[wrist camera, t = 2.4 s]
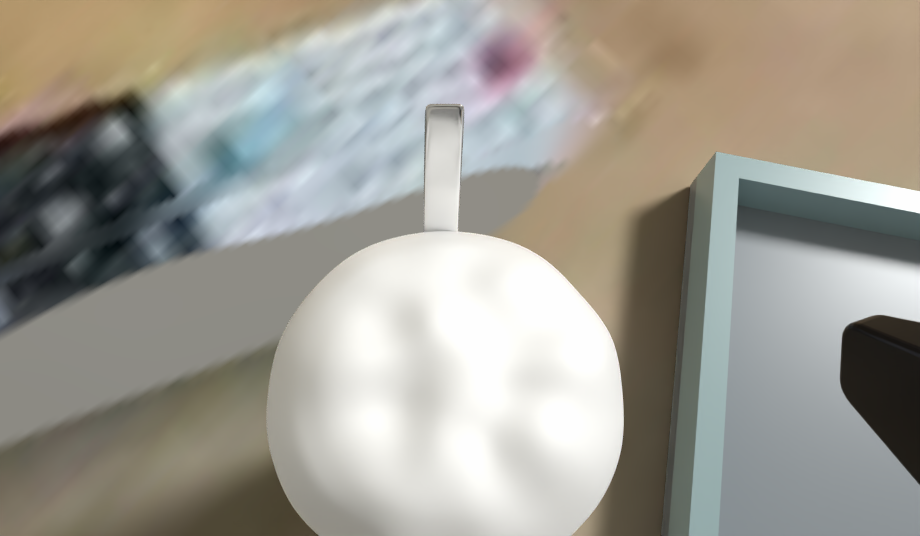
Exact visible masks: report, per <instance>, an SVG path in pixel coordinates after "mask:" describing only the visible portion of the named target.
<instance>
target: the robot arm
mask: <svg viewBox="0 0 920 536" xmlns="http://www.w3.org/2000/svg"><path fill="white" fill-rule="evenodd" d="M840 385H841V388H842V391H843V393H844V395H845V397H846V399H847V400H848V401H849V403H850V404H851V405H852V406H853V407H854V409H855V410H856V411H857V412H858V413H859V414H860V416H861V417H862V418H863V419H864V420H865V422H866V423H867V424H868V425H869V426H870V427H871V429H872V430H873V431H874V432H875V433H876V434H877V436H878V437H879V438H880V439H881V440H882V442H883V443H884V444H885V445H886V446H887V447H888V449H889V450H890V451H891V452H892V453H893V454H894V456H895V457H896V458H897V459H898V460H899V461H900V463H901V464H902V465H903V466H904V467H905V469H906V470H907V471H908V472H909V473H910V474H911V476H912V477H913V478H914V479H915V480H916V481H917V483H918V484H919V485H920V322H917V321H911V320H906V319H901V318H896V317H891V316H886V315H873V316H870V317H867V318H864V319H861V320H858V321H855V322H852V323H850V324H849V325H847V326H846V327H845V329H844V331H843V333H842V343H841V362H840Z"/></svg>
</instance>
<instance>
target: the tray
mask: <svg viewBox="0 0 920 536" xmlns="http://www.w3.org/2000/svg"><path fill="white" fill-rule="evenodd" d="M873 315H886V316H891V317H896V318H901V319H906V320H911V321H917V322H920V191H914V190H909V189H904V188H899V187H894V186H889V185H884V184H879V183H873V182H868V181H863V180H858V179H853V178H848V177H843V176H838V175H832V174H827V173H822V172H817V171H812V170H807V169H802V168H797V167H792V166H786V165H781V164H776V163H771V162H766V161H761V160H756V159H751V158H745V157H740V156H735V155H730V154H725V153H720V152H716V153H715V154H714V155H713V157H712V158H711V159H710V160H709V162H708V163H707V164H706V166H705V167H704V168H703V169H702V171H701V172H700V173H699V175H698V176H697V177H696V179H695V180H694V181H693V182H692V184H691V185H690V197H689V208H688V220H687V232H686V244H685V256H684V268H683V280H682V292H681V304H680V316H679V328H678V340H677V352H676V364H675V376H674V388H673V400H672V411H671V423H670V435H669V447H668V459H667V471H666V483H665V495H664V507H663V519H662V531H661V536H920V485H919V484H918V483H917V481H916V480H915V479H914V478H913V477H912V476H911V474H910V473H909V472H908V471H907V470H906V469H905V467H904V466H903V465H902V464H901V463H900V461H899V460H898V459H897V458H896V457H895V456H894V454H893V453H892V452H891V451H890V450H889V449H888V447H887V446H886V445H885V444H884V443H883V442H882V440H881V439H880V438H879V437H878V436H877V434H876V433H875V432H874V431H873V430H872V429H871V427H870V426H869V425H868V424H867V423H866V422H865V420H864V419H863V418H862V417H861V416H860V414H859V413H858V412H857V411H856V410H855V409H854V407H853V406H852V405H851V404H850V403H849V401H848V400H847V399H846V397H845V395H844V393H843V391H842V388H841V385H840V362H841V343H842V333H843V331H844V329H845V327H846V326H847V325H849V324H850V323H852V322H855V321H858V320H861V319H864V318H867V317H870V316H873Z"/></svg>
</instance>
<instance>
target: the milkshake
mask: <svg viewBox="0 0 920 536" xmlns="http://www.w3.org/2000/svg"><path fill="white" fill-rule="evenodd" d="M463 129H464V107H463V106H462V105H460V104H430V105H428V106H427V107H426V110H425V152H424V232H423V233H416V234H410V235H405V236H400V237H396V238H392V239H388V240H385V241H382V242H379V243H376V244H373V245H371V246H369V247H367V248H365V249H362V250H360V251H359V252H357V253H355V254H353V255H352V256H350V257H349V258H347V259H346V260H344V261H343V262H342V263H340V264H339V265H338V266H337V267H335V268H334V269H333V270H332V271H331V272H330V273H328V275H326V276H325V278H323V279H322V280H321V281H320V282H319V283H318V284H317V285H316V287H315V288H314V289H313V290H312V291H311V292H310V293H309V295H308V296H307V297H306V298H305V299H304V300H303V302H302V303H301V304H300V306H299V307H298V309H297V310H296V312H295V313H294V315H293V316H292V318H291V319H290V321H289V323H288V325H287V326H286V328H285V330H284V332H283V334H282V337H281V339H280V341H279V344H278V347H277V350H276V353H275V357H274V361H273V365H272V371H271V376H270V383H269V390H268V399H267V436H268V443H269V448H270V453H271V457H272V461H273V464H274V467H275V470H276V473H277V476H278V478H279V481H280V483H281V486H282V488H283V490H284V492H285V494H286V496H287V498H288V500H289V501H290V503H291V505H292V506H293V508H294V509H295V511H296V512H297V513H298V514H299V516H300V517H301V518H302V519H303V520H304V522H305V523H306V524H307V525H308V526H309V527H310V528H311V529H312V530H313V531H314V532H315V533H316V534H318V535H319V536H571V535H572V534H573V533H574V532H575V531H576V530H577V529H578V528H579V527H580V526H581V525H582V524H583V523H584V522H585V521H586V520H587V518H588V517H589V516H590V515H591V514H592V512H593V511H594V510H595V508H596V507H597V505H598V504H599V502H600V501H601V499H602V498H603V496H604V494H605V492H606V490H607V488H608V487H609V484H610V482H611V480H612V478H613V475H614V473H615V470H616V467H617V464H618V460H619V456H620V452H621V447H622V440H623V429H624V409H623V394H622V383H621V374H620V367H619V362H618V357H617V353H616V349H615V346H614V343H613V340H612V338H611V336H610V334H609V332H608V330H607V328H606V326H605V325H604V323H603V322H602V320H601V319H600V317H599V316H598V315H597V313H596V312H595V311H594V310H593V308H592V307H591V306H590V305H589V304H588V303H587V301H586V300H585V299H584V298H583V297H582V296H581V295H580V294H579V293H578V291H577V290H576V289H575V288H574V287H573V286H572V285H571V284H570V283H569V281H568V280H567V279H566V278H565V277H564V276H563V275H562V274H561V273H560V272H559V271H558V270H557V269H556V268H554V267H553V266H552V265H551V264H550V263H548V262H547V261H546V260H545V259H543V258H542V257H540V256H539V255H537V254H536V253H534V252H532V251H530V250H528V249H526V248H524V247H522V246H520V245H517V244H515V243H512V242H509V241H506V240H503V239H500V238H496V237H491V236H487V235H481V234H475V233H466V232H458V222H459V204H460V185H461V167H462V148H463Z"/></svg>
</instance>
